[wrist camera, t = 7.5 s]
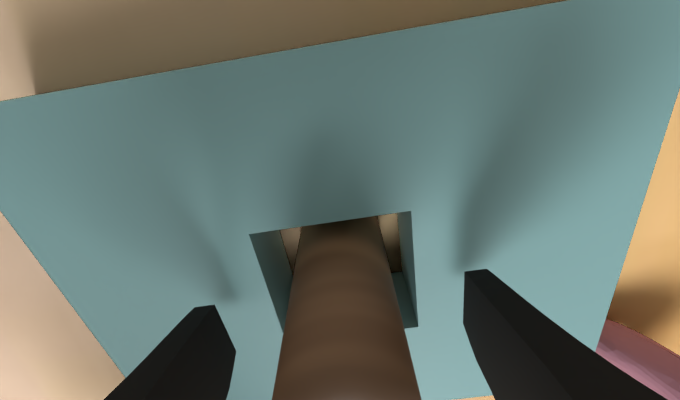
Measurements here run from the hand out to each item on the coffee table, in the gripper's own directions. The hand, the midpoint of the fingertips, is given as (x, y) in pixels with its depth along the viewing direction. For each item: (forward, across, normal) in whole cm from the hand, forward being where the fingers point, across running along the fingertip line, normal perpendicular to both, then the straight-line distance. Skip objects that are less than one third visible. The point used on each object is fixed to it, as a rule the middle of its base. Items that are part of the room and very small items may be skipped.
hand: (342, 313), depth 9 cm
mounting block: (+4, 0, 0) cm, 4 cm away
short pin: (+4, 0, 0) cm, 4 cm away
